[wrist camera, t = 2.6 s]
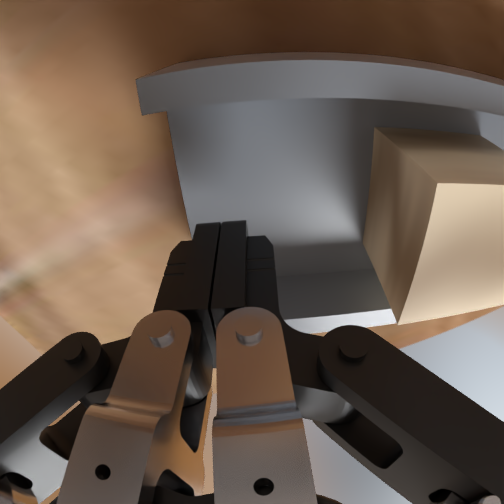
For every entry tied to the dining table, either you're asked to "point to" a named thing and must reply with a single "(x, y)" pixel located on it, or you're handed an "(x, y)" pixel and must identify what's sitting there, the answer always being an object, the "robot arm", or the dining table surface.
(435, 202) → the wood block
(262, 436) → the robot arm
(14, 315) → the dining table surface
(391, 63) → the channel deck
